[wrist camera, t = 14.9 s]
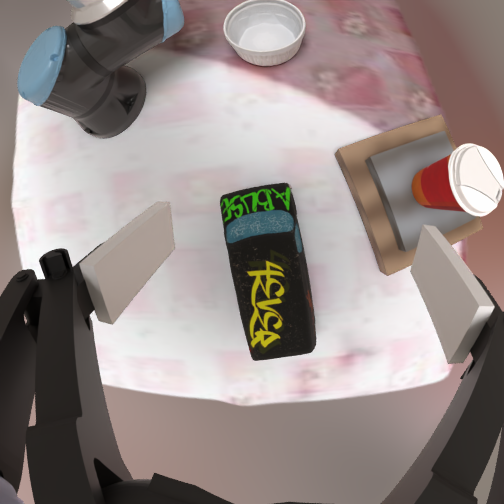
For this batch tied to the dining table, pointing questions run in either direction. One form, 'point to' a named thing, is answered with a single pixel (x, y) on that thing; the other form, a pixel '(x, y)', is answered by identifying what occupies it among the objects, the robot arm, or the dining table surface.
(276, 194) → the toy van
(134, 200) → the dining table surface
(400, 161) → the two-tone square platform
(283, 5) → the ramekin
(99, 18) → the robot arm
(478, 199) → the paper cup
